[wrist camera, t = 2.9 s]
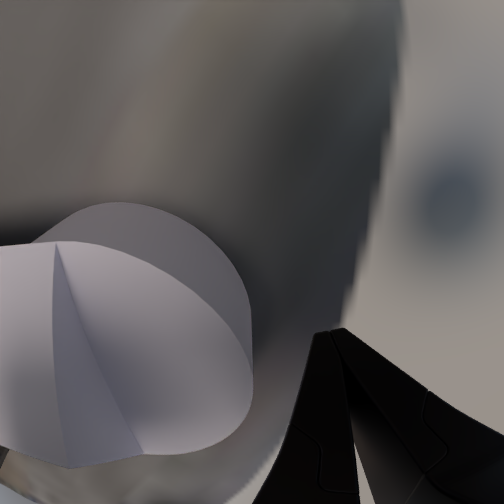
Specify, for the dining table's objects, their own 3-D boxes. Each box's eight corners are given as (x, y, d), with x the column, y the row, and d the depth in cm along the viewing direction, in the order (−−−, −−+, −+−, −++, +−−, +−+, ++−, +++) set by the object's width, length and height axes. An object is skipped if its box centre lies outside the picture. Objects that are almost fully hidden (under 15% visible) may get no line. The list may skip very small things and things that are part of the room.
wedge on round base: (22, 377, 13) (256, 395, 13) (-28, 466, 7) (260, 534, 7) (-41, 225, 10) (244, 191, 10) (-140, 298, 4) (241, 332, 4)
